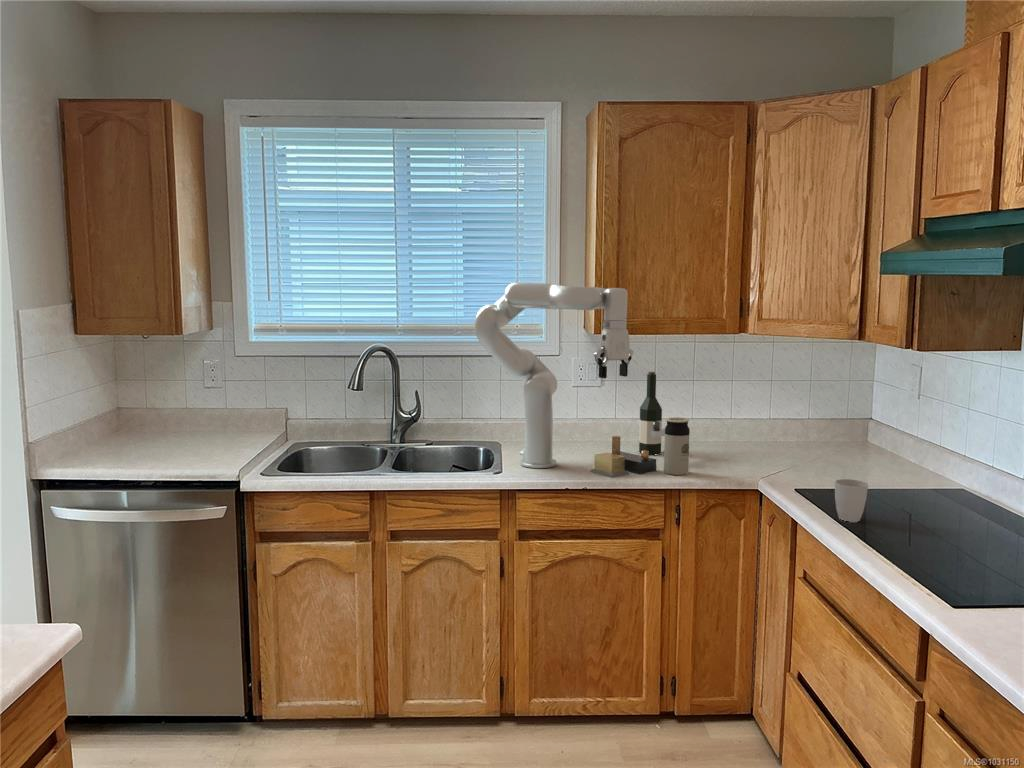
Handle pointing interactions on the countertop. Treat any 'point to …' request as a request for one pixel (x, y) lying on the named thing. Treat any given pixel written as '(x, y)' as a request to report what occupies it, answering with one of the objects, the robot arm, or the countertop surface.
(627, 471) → the rubber mat
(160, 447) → the countertop surface
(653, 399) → the wine bottle
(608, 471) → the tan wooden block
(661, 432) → the bar
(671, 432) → the travel mug
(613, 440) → the dark slate base plate
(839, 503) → the cup
